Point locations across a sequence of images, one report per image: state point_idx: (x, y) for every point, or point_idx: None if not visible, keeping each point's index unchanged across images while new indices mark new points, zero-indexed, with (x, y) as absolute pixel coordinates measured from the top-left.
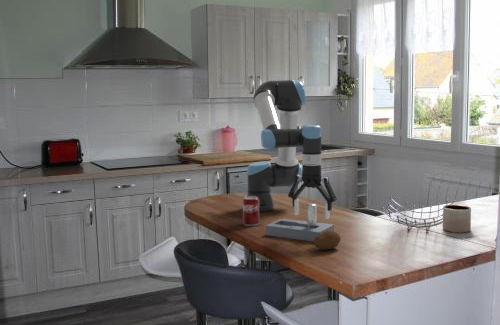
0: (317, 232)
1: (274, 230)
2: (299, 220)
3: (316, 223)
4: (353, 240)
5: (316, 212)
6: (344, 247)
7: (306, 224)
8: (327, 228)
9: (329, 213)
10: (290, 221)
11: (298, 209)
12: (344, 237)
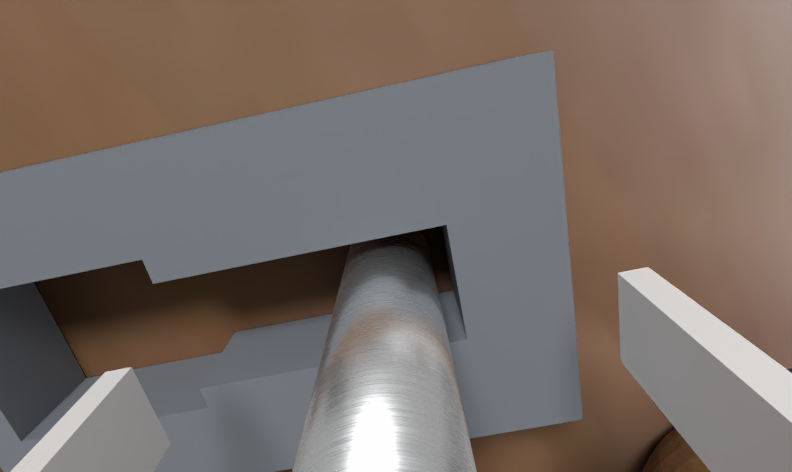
0: (558, 421)
1: None
2: (62, 163)
3: (437, 296)
4: (784, 136)
5: (452, 383)
6: (775, 349)
7: (271, 258)
8: (567, 250)
9: (694, 313)
10: (37, 270)
11: (93, 442)
12: (666, 99)
